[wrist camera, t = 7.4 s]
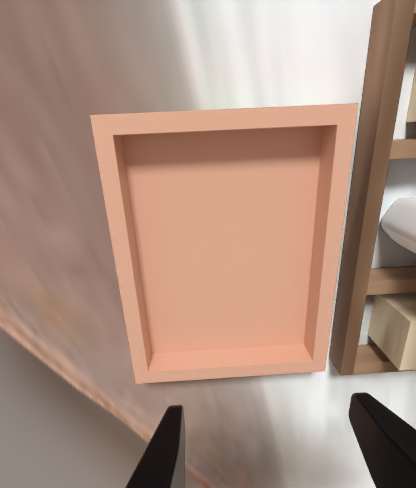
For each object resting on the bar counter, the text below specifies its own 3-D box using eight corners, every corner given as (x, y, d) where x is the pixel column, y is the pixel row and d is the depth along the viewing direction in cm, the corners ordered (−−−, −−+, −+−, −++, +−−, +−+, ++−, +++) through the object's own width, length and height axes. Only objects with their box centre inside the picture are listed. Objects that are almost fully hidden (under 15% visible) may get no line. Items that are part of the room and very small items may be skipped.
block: (425, 287, 22) (471, 317, 19) (415, 330, 24) (456, 366, 20) (374, 290, 22) (410, 321, 19) (367, 333, 24) (399, 370, 20)
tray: (336, 107, 18) (358, 103, 15) (312, 348, 24) (325, 371, 22) (104, 117, 17) (90, 115, 15) (141, 359, 24) (135, 383, 21)
